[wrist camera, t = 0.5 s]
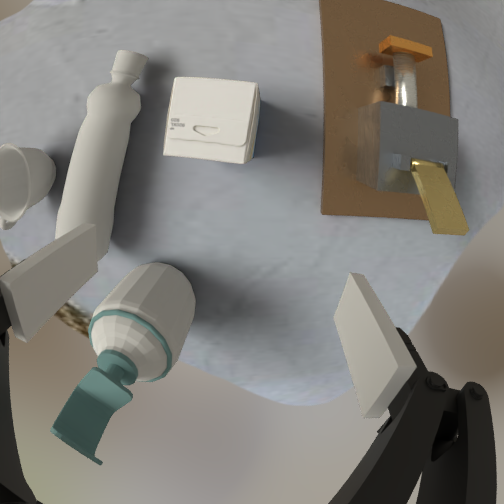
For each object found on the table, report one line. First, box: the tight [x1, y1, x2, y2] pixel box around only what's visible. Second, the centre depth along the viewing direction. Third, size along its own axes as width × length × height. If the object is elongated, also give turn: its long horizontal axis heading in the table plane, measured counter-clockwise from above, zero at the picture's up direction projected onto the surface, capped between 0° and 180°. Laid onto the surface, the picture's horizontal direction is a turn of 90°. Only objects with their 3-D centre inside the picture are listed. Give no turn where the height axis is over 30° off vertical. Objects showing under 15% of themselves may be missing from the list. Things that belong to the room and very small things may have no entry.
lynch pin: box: [379, 35, 433, 108], centre depth 27 cm, size 13×6×4 cm, turn 0°
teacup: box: [0, 143, 56, 230], centre depth 34 cm, size 12×15×10 cm
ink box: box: [163, 77, 261, 164], centre depth 30 cm, size 9×8×12 cm
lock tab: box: [410, 158, 469, 235], centre depth 24 cm, size 9×4×1 cm
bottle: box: [55, 50, 148, 262], centre depth 34 cm, size 9×9×30 cm
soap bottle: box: [50, 262, 196, 465], centre depth 31 cm, size 12×12×31 cm
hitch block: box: [319, 0, 458, 220], centre depth 27 cm, size 34×20×11 cm, turn 0°
